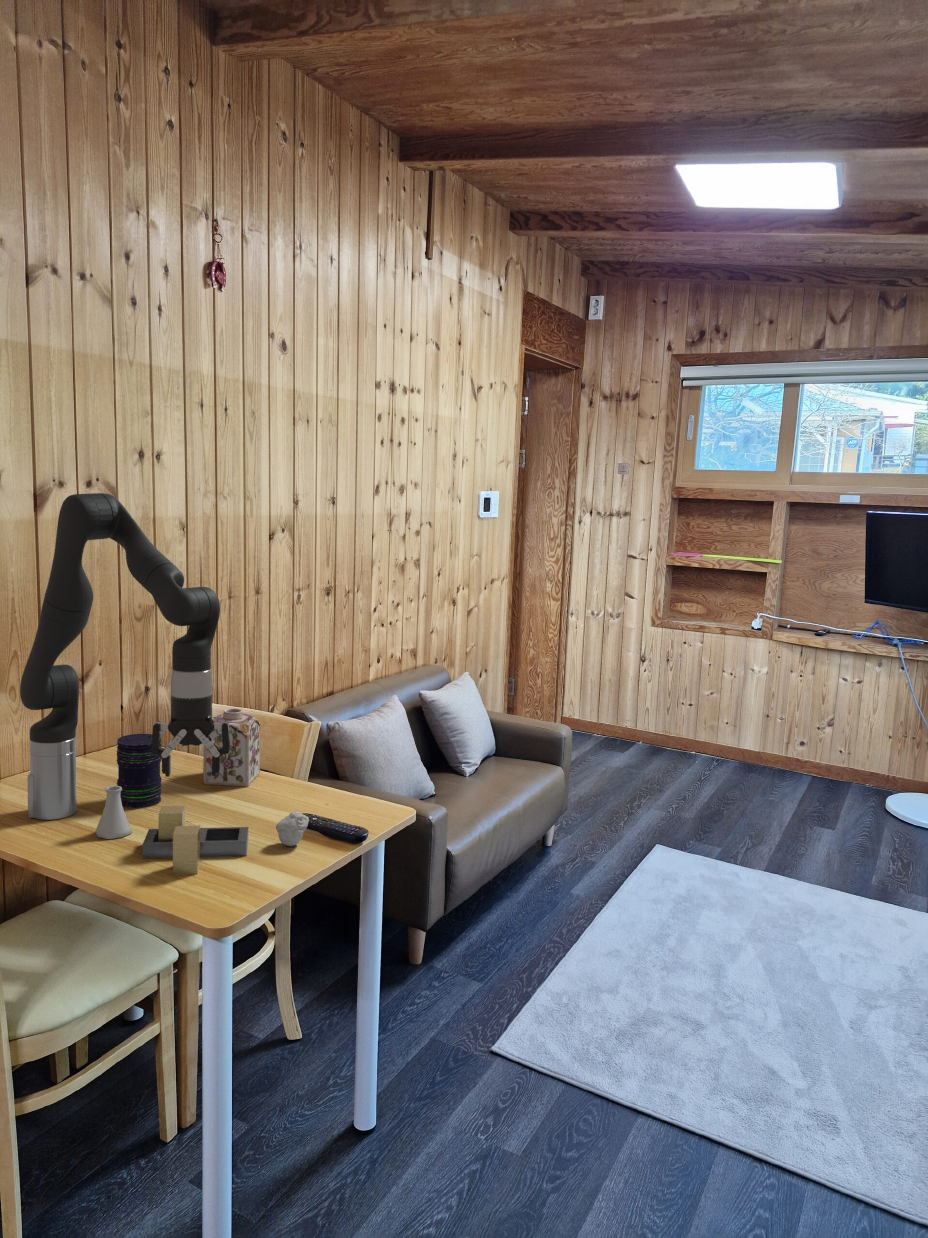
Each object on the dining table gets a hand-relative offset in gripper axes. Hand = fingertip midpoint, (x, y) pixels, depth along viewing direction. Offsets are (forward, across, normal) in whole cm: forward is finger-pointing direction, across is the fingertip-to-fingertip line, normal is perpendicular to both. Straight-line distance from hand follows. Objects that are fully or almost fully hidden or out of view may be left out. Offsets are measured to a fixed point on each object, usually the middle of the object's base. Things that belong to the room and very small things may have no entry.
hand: (191, 775), depth 172 cm
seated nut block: (+18, -5, +9) cm, 21 cm away
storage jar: (+18, -16, +39) cm, 46 cm away
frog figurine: (+19, +19, +10) cm, 29 cm away
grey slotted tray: (+18, 0, +9) cm, 21 cm away
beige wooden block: (+19, -1, -1) cm, 19 cm away
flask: (+19, -18, +19) cm, 32 cm away
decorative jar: (+18, +4, +55) cm, 58 cm away
